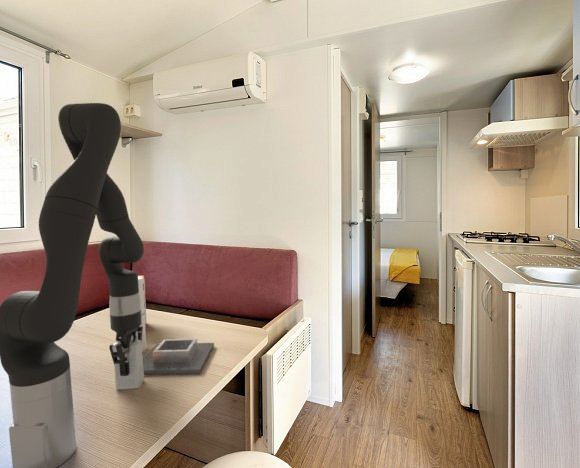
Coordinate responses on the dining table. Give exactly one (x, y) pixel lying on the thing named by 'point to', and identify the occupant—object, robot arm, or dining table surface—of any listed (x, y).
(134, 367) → the skincare box
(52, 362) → the robot arm
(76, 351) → the dining table surface
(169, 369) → the duct plate
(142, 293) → the cylindrical container
